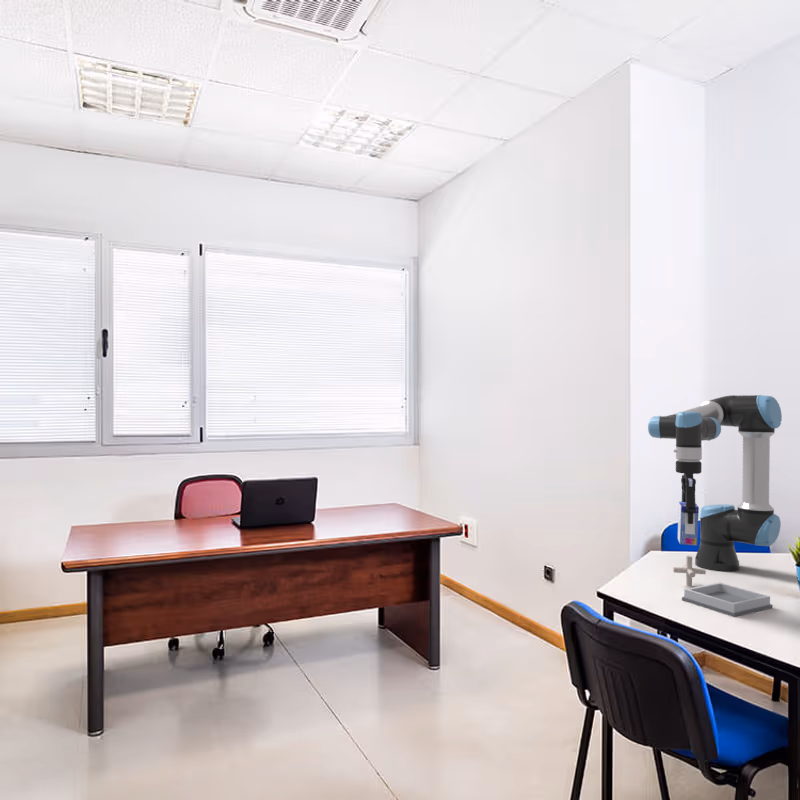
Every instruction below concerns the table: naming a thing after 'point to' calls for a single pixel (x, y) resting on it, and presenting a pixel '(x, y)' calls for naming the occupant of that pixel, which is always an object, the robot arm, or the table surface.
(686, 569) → the pipe connector
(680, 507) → the ink cartridge box
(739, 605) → the cartridge dock
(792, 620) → the table surface
